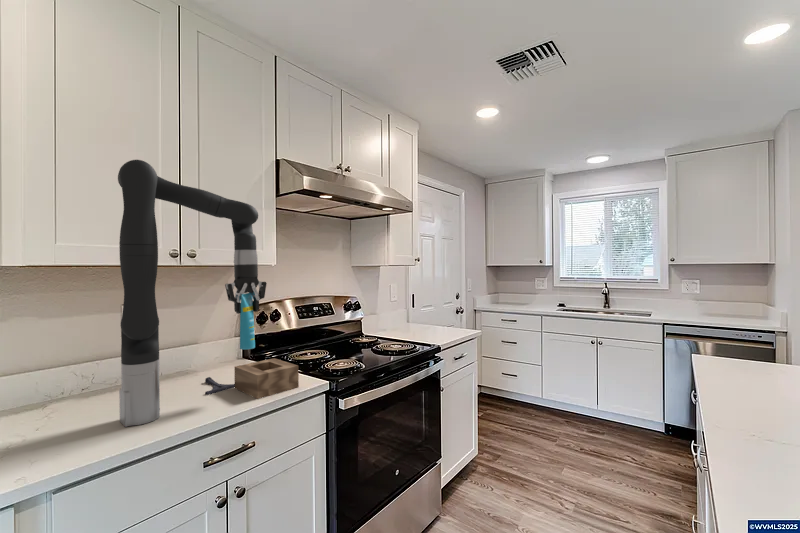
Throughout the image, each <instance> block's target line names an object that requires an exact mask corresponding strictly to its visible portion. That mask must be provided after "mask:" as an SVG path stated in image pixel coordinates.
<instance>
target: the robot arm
mask: <svg viewBox="0 0 800 533" xmlns="http://www.w3.org/2000/svg"><path fill="white" fill-rule="evenodd" d="M117 182H118V184H119V186H120V187H121V192H122V200H123V213H122V218H121V225H120V230H119V246H118V247H119V266H120V273H121V279H122V280H121V281H122V283H123V284H122V285H123V294H124V295H123V307H122V314H121V320H120V329H121V330H120V332H121V334H120V335H121V336H120V337H121V339H120V340H121V344H120V345H121V346H120V347H121V349H120V352H121V353H120V358H121V359H120V363H121V364H120V365H121V374H120V376H121V388H119V422H120V423H121V424H122V425H123V426H124V427H130V426H138V425H139V426H140V425H144V424H148V423H151V422H153V421H155V420H158V419H159V418H160V416H161V415H160V414H161V413H160V412H161V407H160V406H161V405H160V401H161V400H160V396H161V395H160V338H159V336H160V335H159V333H160V332H159V330H160V329H159V326H160V319H159V314H158V308H157V298H156V283H157V277H158V276H157V275H158V266H159V263H158V262H159V244H158V243H159V242H158V229H157V227H158V226H157V220H156V211H155V210H156V209H155V207H156V199H157V200H159V201H160V200H161V201H164V202H165V201H166V202H169V203H172V204H176V205H179V206H182V207H186V208H189V209H191V210H194V211H197V212H201V213H202V214H206V215H209V216H213V217H215V218H220V219H228V220H230V221H231V227H232V233H233V237H234V241H233V243H234V249H233V250H234V252H233V267H234V268H233V270H234V272H233V274H234V276H233V277H234V281H233V282H230V283H225V284H224V286H225V291H226V296H227V299H228V301H230V302H233V303H234V306H233V307H234V312H235V313H236V314H238V315H239V314H240V313H241V295H242V294H246V293H250V294H251V295H252V300H253V313H254V312H255V313H256V312H257V313H258V311H259V310H260V300H262V299H265V296H266V289H267V282H266V281H260V280H259V278H258V276H259V270H258V269H259V268H258V267H259V266H258V265H259V264H258V254H257V253H258V252H257V236H256V235H255V234H254V233H253V224H255V223H256V222H257V221H258V219H259V212H258V210H257V209H256V207H254V206H253V205H251V204H249V203H246V202H244V201H238V200H235V199H229V198H227V197H224V196H222V195H218V194H216V193H214V192H212V191H211V192H210V191H208V190H204V189H200V188H197V187H192V186H186V185H183V184H179V183H175V182H173V181H170V180H168V179H165V178H162V177H160V176H159V175H157V172H156V170H155V169H154V167H153V166H152V165H151V163H150V164H149V163H148V162H146V161H145V160H141V159H132V160H128V161H126V162H125V163H124V164H122V165H121V167H119V170H118V175H117ZM257 287H258V289H259V290H258V289H257ZM235 288H236V291H235V293H234V290H235Z"/></svg>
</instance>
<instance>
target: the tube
mask: <svg viewBox="0 0 800 533" xmlns="http://www.w3.org/2000/svg"><path fill="white" fill-rule="evenodd" d="M253 301H254V300H253V297H252V295H251V294H250V293H249V292H247V293H244V294H242V295H241V300H240V303H241V313H240V318H239V320H240V321H239V349H240V350H253V349H255V348H256V340H255V337H256V336H255V318H254V317H255V314H254V311H253Z"/></svg>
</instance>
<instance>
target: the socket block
mask: <svg viewBox="0 0 800 533" xmlns="http://www.w3.org/2000/svg"><path fill="white" fill-rule="evenodd" d="M299 375H300V374H299V365H298V364H294V363H291V362H288V361H284V360H281V359H278V358H269V359H264V360H260V361H256V362H249V363H245V364H244V363H243V364H241V365H235V366H234V384H235V388H234V389H236V390H237V391H240V392H242V393H244V394H246V395H248V396H250V395H251V396H250V397H252V396H253V397H252V398H255V399H257V400H258V399H262V397H263V398H266V397H269V396H273V395H275V394H276V393H277V394H280V393H283V392H286V391H290V390H294V389H297V388H299V386H300V385H299V382H300V381H299Z"/></svg>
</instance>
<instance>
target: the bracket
mask: <svg viewBox="0 0 800 533" xmlns="http://www.w3.org/2000/svg"><path fill="white" fill-rule="evenodd" d="M204 382H206V383H205V384H207V383H208V385H210V384H211V385H210V386H212V387H213V388H212V389H211V390H210V389H209V390H207V391H205V392H204V395H206V396H210V395H213V394H216V392H217V393H220V392H224V391H226V390H230V389H235V388H234V387H235V383H232V384H225V383H223V384H222V383H218V382H217V381H215V380H214V379H213V378H212V377H210V376H209V377H206V378H205V381H204ZM212 393H213V394H212ZM209 394H210V395H209Z"/></svg>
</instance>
